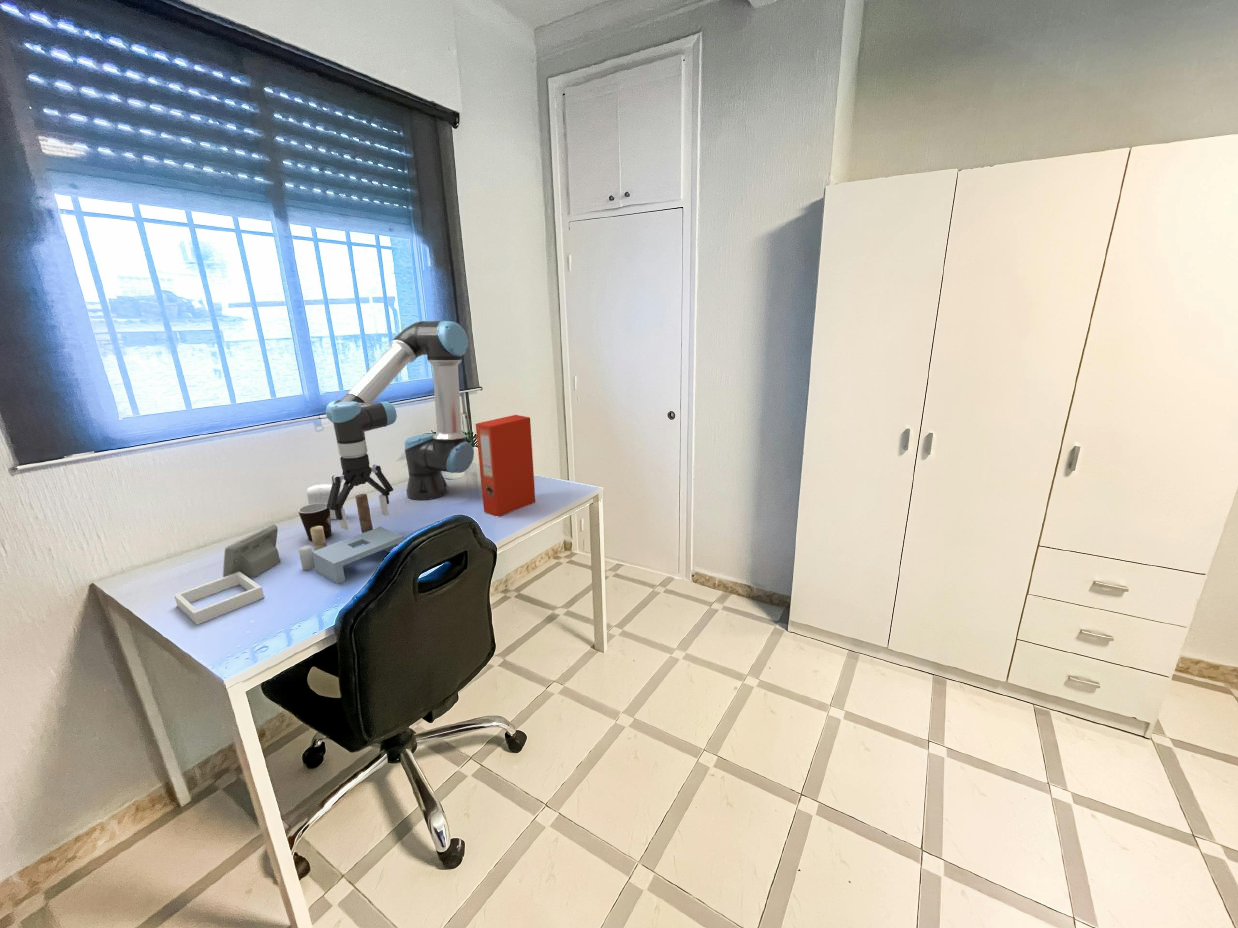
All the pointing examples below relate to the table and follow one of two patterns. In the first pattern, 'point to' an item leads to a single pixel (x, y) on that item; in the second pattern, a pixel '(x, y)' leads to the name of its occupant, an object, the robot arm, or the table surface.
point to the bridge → (353, 551)
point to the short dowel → (306, 557)
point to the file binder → (506, 464)
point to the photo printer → (320, 496)
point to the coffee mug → (316, 518)
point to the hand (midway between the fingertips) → (365, 521)
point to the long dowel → (364, 512)
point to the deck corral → (222, 606)
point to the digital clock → (252, 553)
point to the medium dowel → (318, 537)
